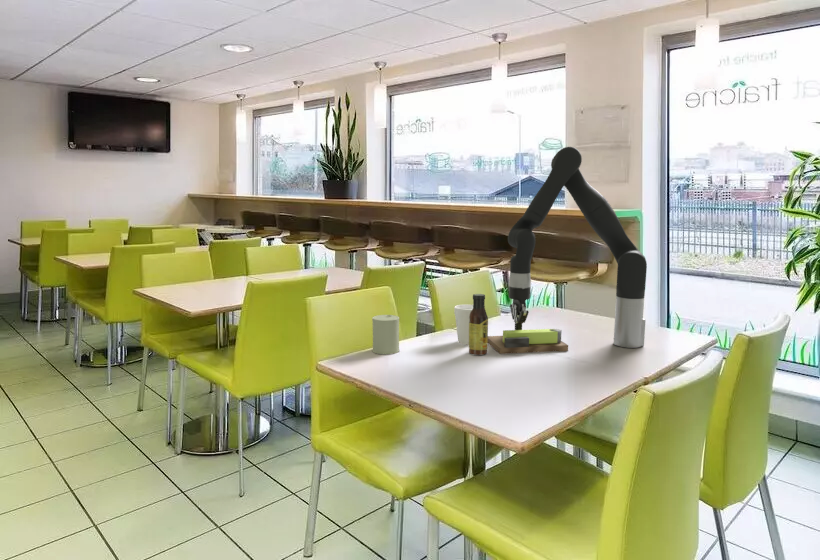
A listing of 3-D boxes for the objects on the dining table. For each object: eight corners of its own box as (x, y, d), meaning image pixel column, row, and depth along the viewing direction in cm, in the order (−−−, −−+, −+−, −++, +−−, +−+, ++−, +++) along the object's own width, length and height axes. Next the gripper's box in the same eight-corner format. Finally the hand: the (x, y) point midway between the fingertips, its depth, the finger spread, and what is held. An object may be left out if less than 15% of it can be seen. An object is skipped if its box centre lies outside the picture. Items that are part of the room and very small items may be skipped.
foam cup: (450, 344, 202) (450, 308, 200) (458, 338, 210) (458, 303, 208) (476, 347, 198) (477, 310, 196) (483, 340, 206) (484, 305, 205)
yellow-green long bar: (558, 339, 199) (558, 328, 198) (562, 342, 195) (563, 331, 194) (502, 341, 196) (503, 330, 196) (506, 344, 192) (506, 333, 192)
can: (404, 349, 196) (404, 314, 194) (391, 355, 187) (391, 320, 186) (380, 345, 200) (380, 312, 198) (367, 352, 191) (367, 317, 189)
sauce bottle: (486, 356, 187) (488, 296, 184) (467, 355, 188) (468, 296, 185) (488, 351, 193) (489, 293, 190) (469, 350, 194) (470, 292, 191)
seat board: (549, 339, 209) (549, 325, 208) (568, 350, 193) (568, 336, 193) (486, 341, 205) (486, 328, 204) (500, 353, 190) (500, 339, 189)
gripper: (503, 282, 206) (502, 329, 209) (516, 288, 193) (514, 338, 196) (523, 282, 207) (521, 328, 210) (537, 288, 195) (535, 337, 197)
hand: (518, 333), depth 203 cm, fingers closed
